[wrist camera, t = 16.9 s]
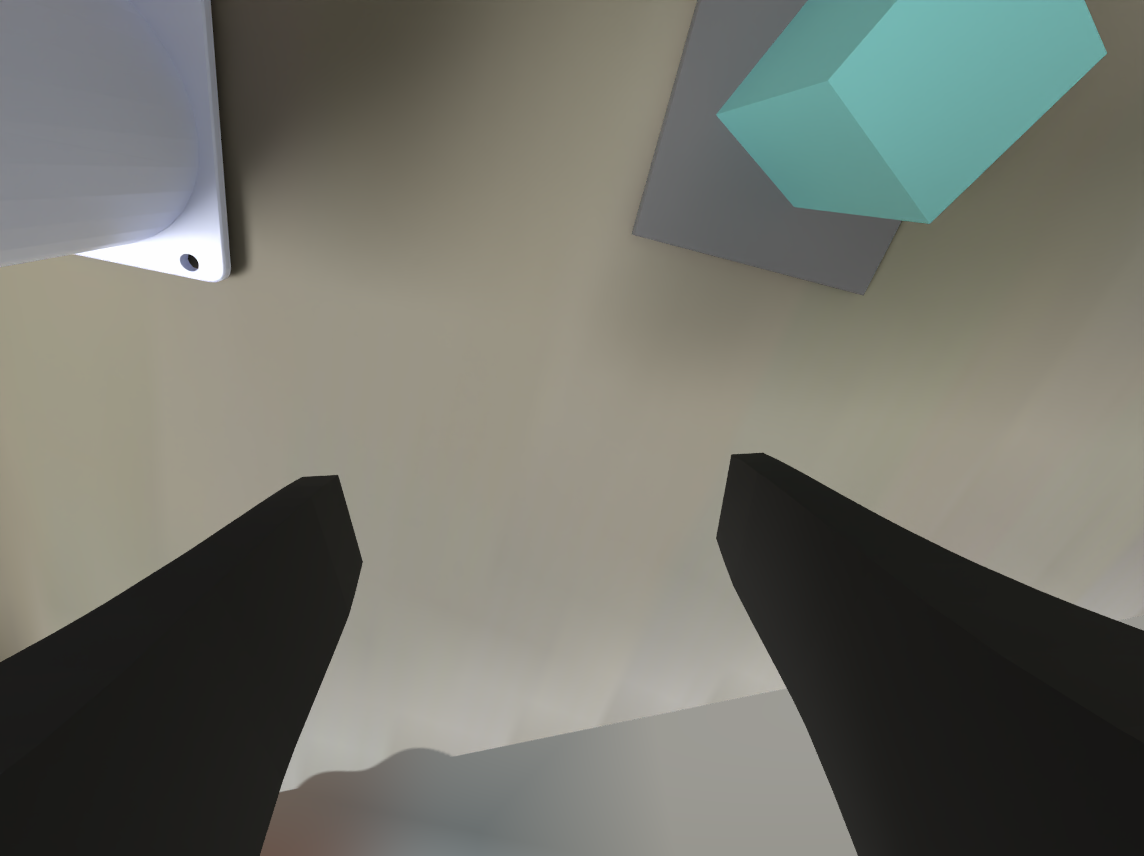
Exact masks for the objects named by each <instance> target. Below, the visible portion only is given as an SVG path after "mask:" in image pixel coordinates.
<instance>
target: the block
mask: <svg viewBox="0 0 1144 856" xmlns="http://www.w3.org/2000/svg"><path fill="white" fill-rule="evenodd" d="M1106 54H1107V52H1106V49H1105V47H1104V45H1103V42H1102V40H1101V38H1100V36H1099V33H1098V31H1097V29H1096V26H1095V24H1094V22H1093V19H1092V17H1091V15H1090V12H1089V10H1088V8H1087V5H1086V3H1085V1H1084V0H808V1H807V2H806V3H805V4H804V6H803V7H802V8H801V9H800V11H799V12H798V13H797V14H796V16H795V17H794V18H793V19H792V21H791V22H790V23H789V24H788V26H787V27H786V28H785V29H784V31H783V32H782V33H781V34H780V36H779V37H778V38H777V39H776V41H775V42H774V43H773V44H772V45H771V47H770V48H769V49H768V50H767V52H766V53H765V54H764V55H763V57H762V58H761V59H760V60H759V62H758V63H757V64H756V65H755V67H754V68H753V69H752V70H751V72H750V73H749V74H748V75H747V77H746V78H745V79H744V80H743V82H742V83H741V84H740V85H739V87H738V88H737V89H736V90H735V92H734V93H733V94H732V95H731V97H730V98H729V99H728V100H727V101H726V103H725V104H724V105H723V106H722V108H721V109H720V110H719V111H718V113H717V114H716V115H717V117H718V118H719V119H720V120H721V121H722V123H723V124H724V125H725V126H726V127H727V128H728V130H729V131H730V132H731V133H732V134H733V136H734V137H735V138H736V139H737V140H738V141H739V143H740V144H741V145H742V146H743V147H744V148H745V150H746V151H747V152H748V153H749V154H750V156H751V157H752V158H753V159H754V160H755V161H756V163H757V164H758V165H759V166H760V167H761V169H762V170H763V171H764V172H765V173H766V174H767V176H768V177H769V178H770V179H771V180H772V182H773V183H774V184H775V185H776V186H777V187H778V189H779V190H780V191H781V192H782V193H783V195H784V196H785V197H786V198H787V199H788V200H789V202H790V203H791V204H792V205H793V206H794V207H797V208H805V209H813V210H821V211H830V212H838V213H846V214H854V215H862V216H870V217H878V218H886V219H894V220H903V221H911V222H919V223H927V224H930V223H931V222H932V221H933V220H934V219H935V218H936V217H937V216H938V215H939V214H940V213H942V212H943V211H944V210H945V209H946V208H947V207H948V206H949V205H950V204H951V203H952V202H953V201H954V200H955V199H956V198H957V197H958V196H959V195H960V194H961V193H962V192H963V191H964V190H965V189H966V188H968V187H969V186H970V185H971V184H972V183H973V182H974V181H975V180H976V179H977V178H978V177H979V176H980V175H981V174H982V173H983V172H984V171H985V170H986V169H987V168H988V167H989V166H990V165H991V164H992V163H994V162H995V161H996V160H997V159H998V158H999V157H1000V156H1001V155H1002V154H1003V153H1004V152H1005V151H1006V150H1007V149H1008V148H1009V147H1010V146H1011V145H1012V144H1013V143H1014V142H1015V141H1016V140H1017V139H1018V138H1020V137H1021V136H1022V135H1023V134H1024V133H1025V132H1026V131H1027V130H1028V129H1029V128H1030V127H1031V126H1032V125H1033V124H1034V123H1035V122H1036V121H1037V120H1038V119H1039V118H1040V117H1041V116H1042V115H1043V114H1044V113H1045V112H1047V111H1048V110H1049V109H1050V108H1051V107H1052V106H1053V105H1054V104H1055V103H1056V102H1057V101H1058V100H1059V99H1060V98H1061V97H1062V96H1063V95H1064V94H1065V93H1066V92H1067V91H1068V90H1069V89H1070V88H1071V87H1073V86H1074V85H1075V84H1076V83H1077V82H1078V81H1079V80H1080V79H1081V78H1082V77H1083V76H1084V75H1085V74H1086V73H1087V72H1088V71H1089V70H1090V69H1091V68H1092V67H1093V66H1094V65H1095V64H1096V63H1097V62H1099V61H1100V60H1101V59H1102V58H1103V57H1104V56H1105V55H1106Z"/></svg>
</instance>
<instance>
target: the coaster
mask: <svg viewBox="0 0 1144 856" xmlns="http://www.w3.org/2000/svg"><path fill="white" fill-rule="evenodd" d="M807 1H808V0H697V4H696V7H695V11H694V14H693V18H692V21H691V25H690V28H689V32H688V36H687V39H686V43H685V46H684V50H683V53H682V57H681V60H680V64H679V68H678V71H677V75H676V78H675V82H674V85H673V89H672V92H671V96H670V100H669V103H668V107H667V110H666V114H665V117H664V121H663V124H662V128H661V132H660V135H659V139H658V142H657V146H656V149H655V153H654V156H653V160H652V163H651V167H650V171H649V174H648V178H647V181H646V185H645V188H644V192H643V195H642V199H641V203H640V206H639V210H638V213H637V217H636V220H635V224H634V227H633V231H632V234H633V235H636V236H640V237H644V238H647V239H651V240H655V241H659V242H663V243H666V244H670V245H674V246H678V247H682V248H685V249H689V250H693V251H697V252H701V253H705V254H708V255H712V256H716V257H720V258H724V259H727V260H731V261H735V262H739V263H743V264H746V265H750V266H754V267H758V268H762V269H765V270H769V271H773V272H777V273H781V274H784V275H788V276H792V277H796V278H800V279H803V280H807V281H811V282H815V283H819V284H822V285H826V286H830V287H834V288H838V289H841V290H845V291H849V292H853V293H857V294H860V295H864V293H865V291H866V290H867V288H868V286H869V284H870V282H871V280H872V278H873V276H874V274H875V272H876V270H877V268H878V266H879V264H880V262H881V260H882V258H883V257H884V255H885V253H886V251H887V249H888V247H889V245H890V243H891V241H892V239H893V237H894V235H895V233H896V231H897V229H898V227H899V225H900V224H901V222H902V220H894V219H886V218H878V217H870V216H862V215H854V214H846V213H838V212H830V211H821V210H813V209H805V208H797V207H794V206H793V205H792V204H791V203H790V202H789V200H788V199H787V198H786V197H785V196H784V195H783V193H782V192H781V191H780V190H779V189H778V187H777V186H776V185H775V184H774V183H773V182H772V180H771V179H770V178H769V177H768V176H767V174H766V173H765V172H764V171H763V170H762V169H761V167H760V166H759V165H758V164H757V163H756V161H755V160H754V159H753V158H752V157H751V156H750V154H749V153H748V152H747V151H746V150H745V148H744V147H743V146H742V145H741V144H740V143H739V141H738V140H737V139H736V138H735V137H734V136H733V134H732V133H731V132H730V131H729V130H728V128H727V127H726V126H725V125H724V124H723V123H722V121H721V120H720V119H719V118H718V117H717V115H716V114H717V113H718V111H719V110H720V109H721V108H722V106H723V105H724V104H725V103H726V101H727V100H728V99H729V98H730V97H731V95H732V94H733V93H734V92H735V90H736V89H737V88H738V87H739V85H740V84H741V83H742V82H743V80H744V79H745V78H746V77H747V75H748V74H749V73H750V72H751V70H752V69H753V68H754V67H755V65H756V64H757V63H758V62H759V60H760V59H761V58H762V57H763V55H764V54H765V53H766V52H767V50H768V49H769V48H770V47H771V45H772V44H773V43H774V42H775V41H776V39H777V38H778V37H779V36H780V34H781V33H782V32H783V31H784V29H785V28H786V27H787V26H788V24H789V23H790V22H791V21H792V19H793V18H794V17H795V16H796V14H797V13H798V12H799V11H800V9H801V8H802V7H803V6H804V4H805V3H806V2H807Z"/></svg>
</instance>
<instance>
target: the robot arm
mask: <svg viewBox="0 0 1144 856" xmlns="http://www.w3.org/2000/svg"><path fill="white" fill-rule="evenodd" d="M71 254H75V255H80V256H85V257H90V258H95V259H100V260H105V261H109V262H114V263H119V264H124V265H129V266H134V267H139V268H144V269H148V270H153V271H158V272H163V273H168V274H173V275H178V276H183V277H187V278H192V279H197V280H202V281H207V282H218V281H221V280H224V279H226V278H227V277H228V276H229V275H230V271H231V262H230V249H229V236H228V223H227V209H226V196H225V183H224V170H223V157H222V144H221V131H220V118H219V104H218V91H217V78H216V65H215V52H214V39H213V26H212V12H211V0H0V267H4V266H10V265H15V264H21V263H27V262H32V261H38V260H43V259H49V258H54V257H60V256H66V255H71ZM188 254H190V255H192V256H194V257H195V258H196V259H197V260H198V263H199V268H198V269H197V268H194V267H193V266H192V265H191V264H190V263H189V261H188ZM716 539H717V542H718V545H719V548H720V551H721V554H722V556H723V559H724V562H725V565H726V568H727V570H728V573H729V575H730V578H731V581H732V583H733V586H734V588H735V590H736V592H737V594H738V596H739V598H740V600H741V602H742V604H743V605H744V607H745V609H746V611H747V613H748V615H749V617H750V619H751V621H752V623H753V625H754V627H755V629H756V630H757V632H758V634H759V636H760V638H761V640H762V642H763V644H764V646H765V648H766V649H767V651H768V653H769V655H770V657H771V659H772V661H773V663H774V665H775V666H776V668H777V670H778V672H779V674H780V676H781V678H782V680H783V682H784V684H785V685H786V687H787V689H788V691H789V693H790V695H791V697H792V699H793V701H794V703H795V705H796V707H797V709H798V711H799V713H800V715H801V717H802V719H803V722H804V723H805V726H806V728H807V730H808V732H809V735H810V737H811V739H812V742H813V745H814V747H815V749H816V752H817V754H818V756H819V759H820V761H821V764H822V766H823V768H824V771H825V773H826V776H827V778H828V780H829V783H830V785H831V788H832V790H833V793H834V795H835V798H836V800H837V802H838V805H839V808H840V810H841V813H842V816H843V818H844V821H845V823H846V826H847V829H848V831H849V833H850V836H851V839H852V841H853V844H854V846H855V849H856V852H857V854H858V856H1144V631H1143V630H1140V629H1138V628H1135V627H1132V626H1129V625H1127V624H1124V623H1122V622H1119V621H1116V620H1114V619H1111V618H1108V617H1106V616H1103V615H1100V614H1098V613H1095V612H1092V611H1090V610H1087V609H1084V608H1082V607H1079V606H1076V605H1074V604H1071V603H1069V602H1066V601H1064V600H1061V599H1059V598H1056V597H1054V596H1051V595H1049V594H1046V593H1044V592H1041V591H1039V590H1037V589H1034V588H1032V587H1030V586H1027V585H1025V584H1023V583H1020V582H1018V581H1016V580H1013V579H1011V578H1009V577H1007V576H1004V575H1002V574H1000V573H997V572H995V571H993V570H990V569H988V568H986V567H983V566H981V565H979V564H977V563H974V562H972V561H970V560H968V559H966V558H964V557H961V556H959V555H957V554H955V553H953V552H951V551H949V550H947V549H945V548H943V547H941V546H939V545H937V544H935V543H933V542H931V541H929V540H927V539H925V538H923V537H920V536H918V535H916V534H914V533H912V532H910V531H908V530H906V529H904V528H902V527H901V526H899V525H897V524H895V523H893V522H891V521H889V520H887V519H885V518H883V517H881V516H880V515H878V514H876V513H874V512H872V511H870V510H868V509H867V508H865V507H863V506H861V505H859V504H857V503H856V502H854V501H852V500H850V499H848V498H847V497H845V496H843V495H841V494H839V493H838V492H836V491H834V490H832V489H830V488H829V487H827V486H825V485H823V484H821V483H820V482H818V481H816V480H814V479H813V478H811V477H809V476H807V475H805V474H804V473H802V472H800V471H798V470H796V469H794V468H792V467H791V466H789V465H787V464H785V463H783V462H781V461H779V460H777V459H775V458H773V457H771V456H769V455H766V454H764V453H751V454H732V455H731V460H730V465H729V471H728V476H727V482H726V487H725V493H724V498H723V504H722V509H721V515H720V520H719V526H718V531H717V537H716ZM362 563H363V561H362V558H361V554H360V551H359V547H358V543H357V540H356V536H355V533H354V529H353V526H352V522H351V519H350V515H349V512H348V508H347V505H346V501H345V498H344V494H343V491H342V487H341V483H340V480H339V476H338V475H330V476H311V477H302V478H300V479H298V480H296V481H294V482H293V483H291V484H289V485H287V486H286V487H284V488H283V489H281V490H279V491H278V492H276V493H275V494H273V495H272V496H270V497H269V498H267V499H266V500H264V501H263V502H261V503H260V504H258V505H257V506H255V507H254V508H252V509H251V510H249V511H248V512H246V513H245V514H243V515H242V516H240V517H239V518H237V519H236V520H234V521H233V522H231V523H230V524H228V525H227V526H225V527H224V528H222V529H221V530H219V531H218V532H216V533H215V534H213V535H212V536H210V537H209V538H207V539H206V540H204V541H203V542H201V543H200V544H198V545H197V546H195V547H194V548H192V549H191V550H189V551H188V552H186V553H185V554H183V555H181V556H180V557H178V558H177V559H175V560H173V561H172V562H170V563H169V564H167V565H166V566H164V567H162V568H161V569H159V570H158V571H156V572H154V573H153V574H151V575H150V576H148V577H146V578H145V579H143V580H142V581H140V582H138V583H137V584H135V585H134V586H132V587H130V588H129V589H127V590H126V591H124V592H122V593H121V594H119V595H118V596H116V597H114V598H113V599H111V600H110V601H108V602H106V603H105V604H103V605H101V606H100V607H98V608H96V609H95V610H93V611H91V612H89V613H88V614H86V615H84V616H83V617H81V618H79V619H77V620H76V621H74V622H72V623H70V624H69V625H67V626H65V627H63V628H62V629H60V630H58V631H56V632H55V633H53V634H51V635H49V636H48V637H46V638H44V639H42V640H40V641H38V642H37V643H35V644H33V645H31V646H29V647H27V648H26V649H24V650H22V651H20V652H18V653H16V654H15V655H13V656H11V657H9V658H7V659H5V660H4V661H2V662H0V856H260V853H261V849H262V846H263V842H264V840H265V836H266V833H267V830H268V827H269V823H270V820H271V817H272V814H273V811H274V807H275V804H276V801H277V798H278V794H279V791H280V788H281V785H282V782H283V779H284V776H285V773H286V771H287V768H288V765H289V762H290V760H291V757H292V754H293V752H294V749H295V746H296V744H297V741H298V739H299V736H300V734H301V732H302V729H303V727H304V724H305V722H306V719H307V717H308V715H309V712H310V710H311V707H312V705H313V702H314V700H315V698H316V695H317V693H318V690H319V688H320V685H321V683H322V681H323V678H324V676H325V673H326V671H327V668H328V666H329V664H330V661H331V659H332V656H333V654H334V651H335V649H336V646H337V644H338V641H339V639H340V636H341V634H342V631H343V629H344V626H345V624H346V621H347V618H348V616H349V613H350V609H351V606H352V602H353V598H354V595H355V591H356V587H357V583H358V579H359V575H360V571H361V567H362Z"/></svg>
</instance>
